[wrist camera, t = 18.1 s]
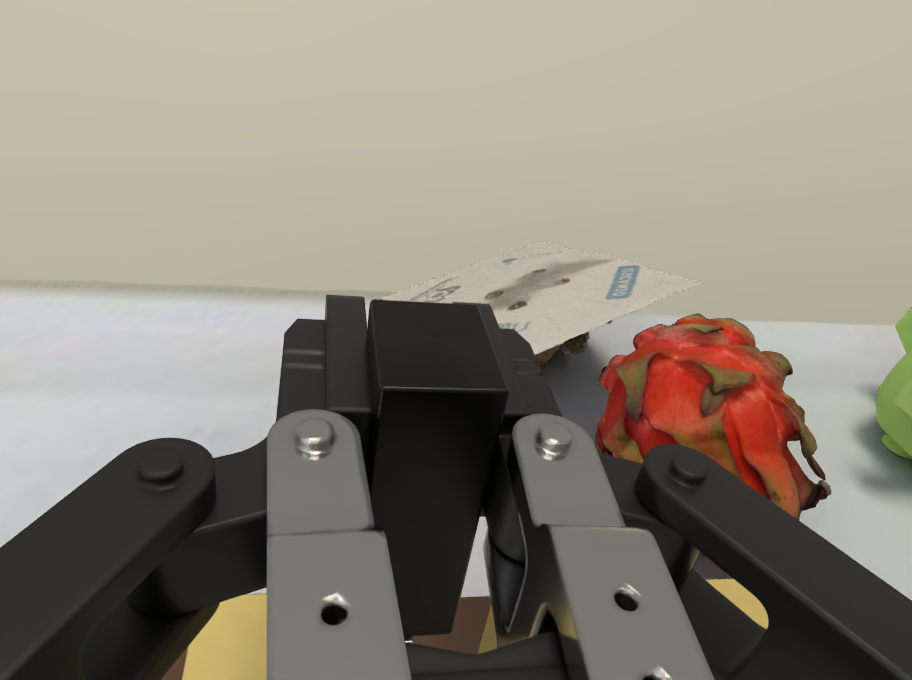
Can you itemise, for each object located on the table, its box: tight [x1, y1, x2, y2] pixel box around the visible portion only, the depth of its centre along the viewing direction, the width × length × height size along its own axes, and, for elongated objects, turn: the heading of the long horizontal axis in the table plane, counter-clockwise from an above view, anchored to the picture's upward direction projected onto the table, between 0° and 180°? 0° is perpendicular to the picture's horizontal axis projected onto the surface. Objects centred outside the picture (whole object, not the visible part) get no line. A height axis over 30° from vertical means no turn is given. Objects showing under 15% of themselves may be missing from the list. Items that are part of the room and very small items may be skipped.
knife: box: [366, 299, 509, 643], centre depth 14 cm, size 2×3×14 cm
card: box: [381, 242, 703, 366], centre depth 36 cm, size 11×15×5 cm
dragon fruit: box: [596, 314, 831, 521], centre depth 28 cm, size 8×8×12 cm
